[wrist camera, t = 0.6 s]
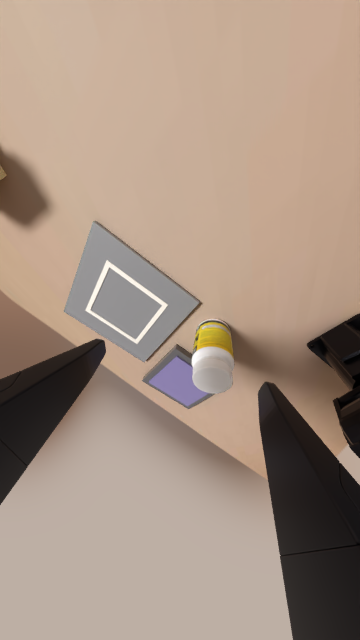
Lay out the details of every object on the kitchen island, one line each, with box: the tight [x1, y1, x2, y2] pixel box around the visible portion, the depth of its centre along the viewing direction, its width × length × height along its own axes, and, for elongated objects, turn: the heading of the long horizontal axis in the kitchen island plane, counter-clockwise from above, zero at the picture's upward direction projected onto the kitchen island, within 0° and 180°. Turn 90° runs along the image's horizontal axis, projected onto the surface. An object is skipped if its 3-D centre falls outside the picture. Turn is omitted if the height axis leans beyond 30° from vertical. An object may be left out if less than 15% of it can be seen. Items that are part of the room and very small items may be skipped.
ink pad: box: [142, 345, 214, 409], centre depth 29 cm, size 11×11×1 cm
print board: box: [64, 221, 200, 362], centre depth 23 cm, size 15×15×1 cm
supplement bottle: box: [192, 319, 234, 394], centre depth 20 cm, size 5×5×8 cm
